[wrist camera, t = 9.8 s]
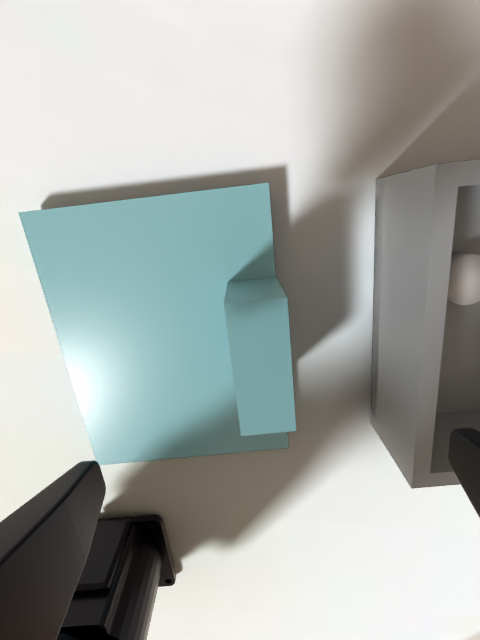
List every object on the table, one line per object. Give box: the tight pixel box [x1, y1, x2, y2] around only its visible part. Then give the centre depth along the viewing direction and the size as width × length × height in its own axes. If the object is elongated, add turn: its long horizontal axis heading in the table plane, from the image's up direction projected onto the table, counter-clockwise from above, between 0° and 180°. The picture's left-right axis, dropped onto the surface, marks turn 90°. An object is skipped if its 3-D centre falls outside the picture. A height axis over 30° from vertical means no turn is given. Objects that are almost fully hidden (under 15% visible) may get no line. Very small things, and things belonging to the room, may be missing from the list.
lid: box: [19, 183, 296, 465], centre depth 16 cm, size 15×12×6 cm
